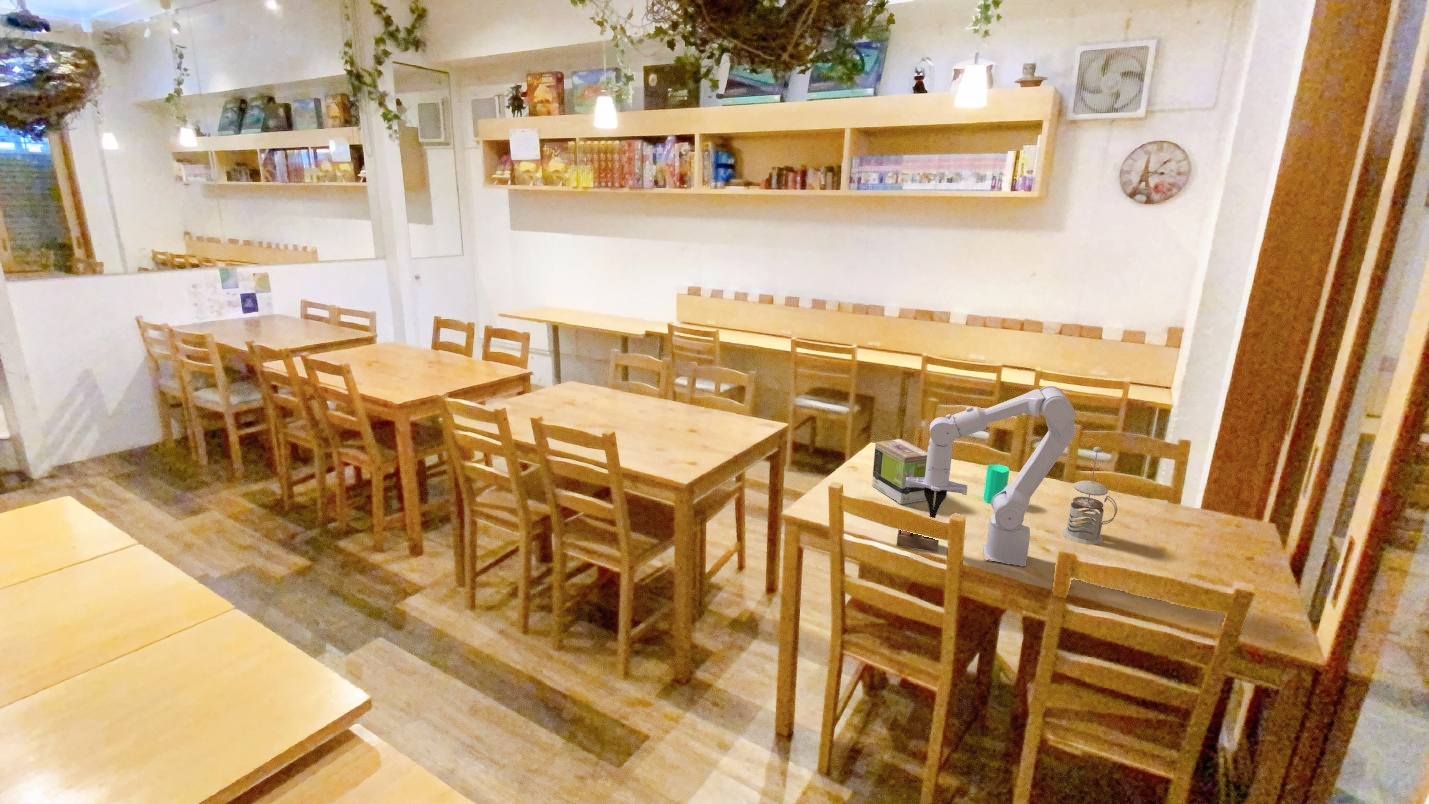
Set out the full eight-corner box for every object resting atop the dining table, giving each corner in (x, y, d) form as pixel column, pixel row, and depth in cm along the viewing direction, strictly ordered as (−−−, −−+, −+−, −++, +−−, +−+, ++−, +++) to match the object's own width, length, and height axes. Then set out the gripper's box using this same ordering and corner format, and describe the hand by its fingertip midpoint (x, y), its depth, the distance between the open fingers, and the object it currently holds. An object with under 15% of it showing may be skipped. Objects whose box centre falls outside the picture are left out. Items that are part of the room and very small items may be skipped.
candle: (981, 502, 203) (986, 464, 199) (984, 494, 208) (989, 457, 204) (1003, 506, 200) (1009, 467, 197) (1005, 498, 205) (1011, 461, 202)
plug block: (937, 544, 178) (939, 533, 177) (937, 552, 174) (938, 541, 173) (897, 538, 181) (898, 527, 180) (896, 545, 177) (897, 535, 176)
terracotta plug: (913, 535, 179) (914, 522, 178) (912, 541, 176) (913, 529, 175) (899, 533, 180) (900, 520, 179) (898, 539, 177) (899, 526, 176)
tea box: (928, 500, 204) (933, 453, 199) (900, 505, 200) (904, 457, 196) (897, 481, 217) (901, 437, 213) (870, 486, 213) (874, 441, 209)
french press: (1066, 523, 190) (1081, 437, 183) (1114, 536, 183) (1131, 448, 176) (1057, 536, 183) (1072, 447, 175) (1106, 550, 175) (1123, 458, 168)
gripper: (906, 467, 169) (901, 518, 172) (969, 475, 164) (963, 527, 168) (908, 457, 175) (903, 506, 179) (969, 465, 171) (963, 515, 174)
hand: (932, 516), depth 174 cm, fingers closed
